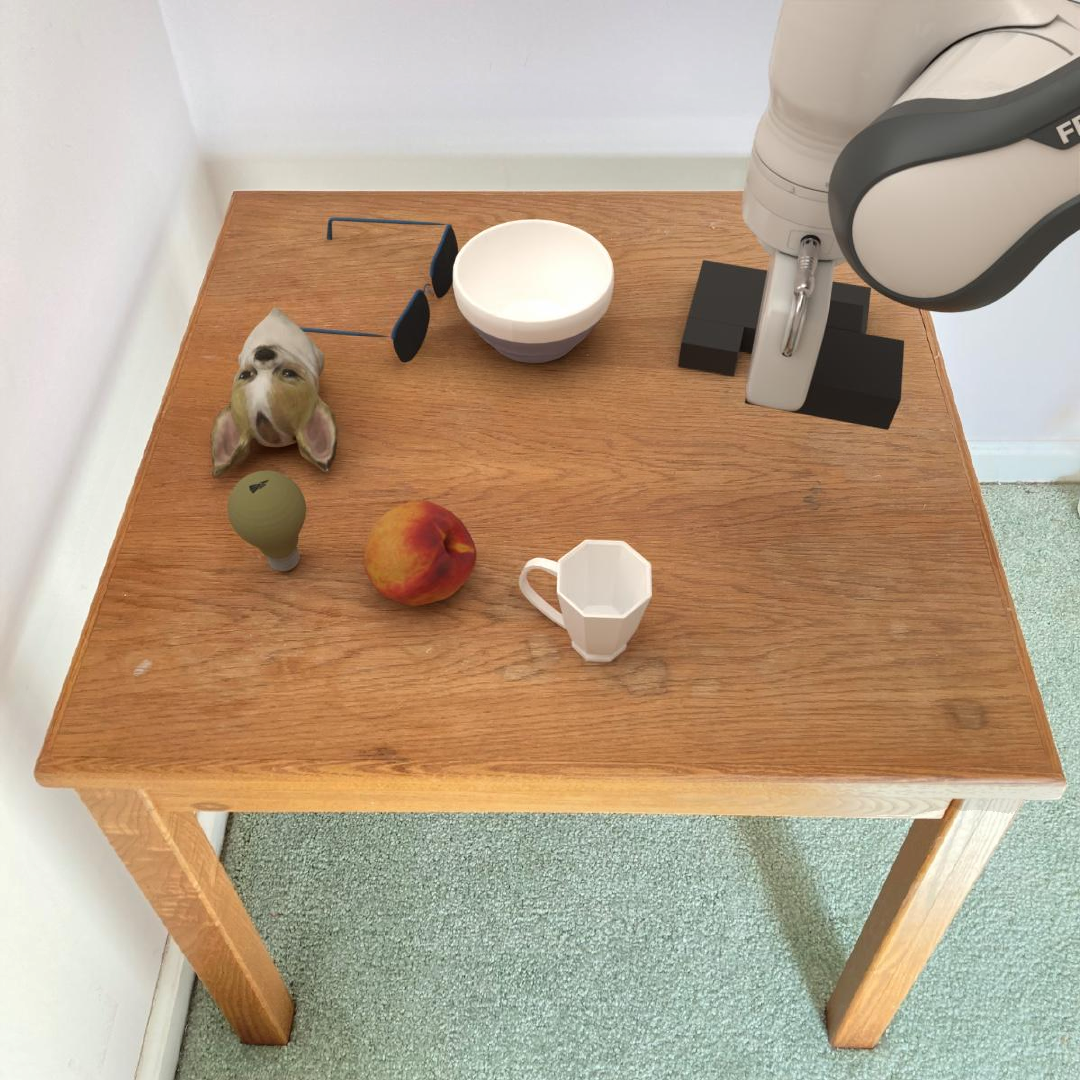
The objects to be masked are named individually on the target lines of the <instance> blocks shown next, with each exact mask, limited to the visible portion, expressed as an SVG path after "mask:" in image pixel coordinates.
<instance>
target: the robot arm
mask: <svg viewBox="0 0 1080 1080" xmlns="http://www.w3.org/2000/svg"><path fill="white" fill-rule="evenodd" d="M773 36H774V37H773V41H772V47H771V50H770V54H769V55H770V56H769V61H768V67H767V68H768V69H767V71H768V72H767V73H768V74H767V76H768V85H769V97H768V102H767V106H766V108H765V110H764V111H763V113H762V115H761V117H760V119H759V121H758V123H757V125H756V129H755V132H754V137H753V142H752V146H751V152H750V157H749V161H748V166H747V173H746V177H745V183H744V187H743V193H742V197H741V203H740V210H741V216H742V219H743V221H744V223H745V225H746V227H748V229H749V231H750V232H751V233H752V234H753V235H754V236H755V237H756V239H757V241H758V243H759V245H760V246H761V248H762V249H763V250H764V251H765V252H766V253H767V254H768V255H769V259H768V266H767V269H766V270H767V275H766V281H765V286H764V291H763V297H762V302H761V307H760V313H759V318H758V324H757V329H756V334H755V340H754V345H753V350H752V353H751V356H750V362H749V367H748V372H747V377H746V383H745V389H744V391H745V392H744V394H745V396H744V397H745V399H747V401H748V402H750V403H752V404H755V405H759V406H758V407H761V406H763V407H762V408H766V407H767V409H771V410H777V409H778V410H777V411H782V410H786V411H785V412H788V411H796V410H798V409H800V408H801V407H802V405H803V404H804V402H805V399H806V396H807V393H808V390H809V386H810V383H811V379H812V376H813V372H814V369H815V365H816V362H817V358H818V354H819V351H820V347H821V343H822V340H823V336H824V332H825V327H826V323H827V318H828V313H829V306H830V298H831V290H832V282H833V281H834V274H835V267H839V266H840V265H843V264H845V263H846V262H847V263H848V265H849V266H850V268H851V269H852V270H853V271H854V273H855V274H856V275H857V276H858V277H859V278H860V279H861V280H862V281H863V283H865V284H866V285H868V287H870V288H871V289H873V290H874V291H876V292H877V293H879V294H880V295H882V296H884V297H885V298H887V299H890V300H891V301H894V302H896V303H898V304H901V305H904V306H907V307H909V308H913V309H916V310H917V309H918V310H922V311H927V312H935V313H943V314H944V313H949V314H951V313H952V314H954V313H965V312H970V311H971V312H972V311H975V310H978V309H982V308H984V307H987V306H990V305H992V304H994V303H997V302H998V301H999V300H1001V299H1003V298H1004V297H1005V296H1007V295H1009V294H1010V293H1011V292H1012V291H1013V290H1015V289H1016V288H1017V287H1018V286H1019V285H1020V284H1021V283H1022V282H1023V281H1024V280H1025V279H1026V278H1028V276H1029V275H1030V274H1031V273H1032V272H1033V271H1034V270H1035V269H1036V268H1037V267H1038V266H1039V265H1040V264H1041V263H1042V262H1043V261H1044V259H1046V258H1047V256H1048V255H1050V254H1051V253H1052V252H1053V251H1054V250H1055V249H1057V247H1059V245H1061V244H1062V243H1063V242H1065V241H1066V240H1067V239H1069V238H1070V237H1071V236H1072V235H1074V234H1076V233H1077V232H1078V231H1080V1H1077V0H782V4H781V8H780V11H779V15H778V19H777V23H776V29H775V33H774V35H773ZM755 405H754V406H755Z"/></svg>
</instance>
